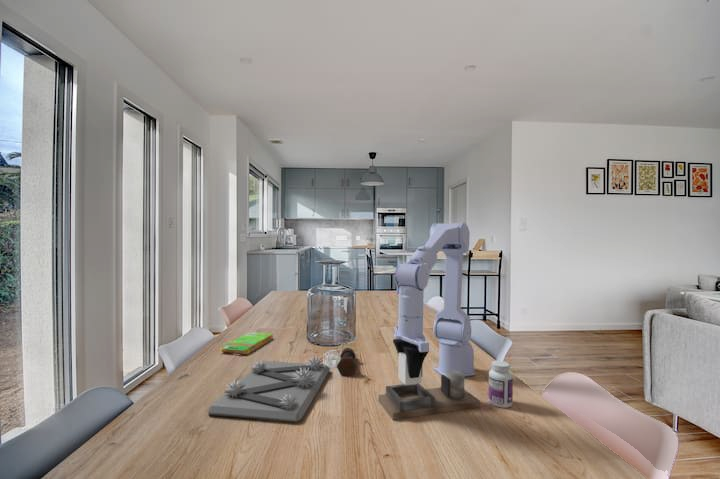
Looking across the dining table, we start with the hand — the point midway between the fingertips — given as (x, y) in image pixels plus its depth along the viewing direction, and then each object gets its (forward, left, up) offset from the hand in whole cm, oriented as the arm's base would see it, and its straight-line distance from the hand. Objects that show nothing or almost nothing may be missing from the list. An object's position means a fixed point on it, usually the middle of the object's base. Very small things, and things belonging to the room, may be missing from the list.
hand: (409, 373), depth 82 cm
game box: (+37, -57, -8) cm, 69 cm away
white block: (0, 0, -2) cm, 2 cm away
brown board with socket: (-5, 0, -8) cm, 9 cm away
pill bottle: (-22, +4, -8) cm, 24 cm away
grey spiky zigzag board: (+29, -17, -8) cm, 35 cm away
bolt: (+7, -29, -8) cm, 31 cm away
